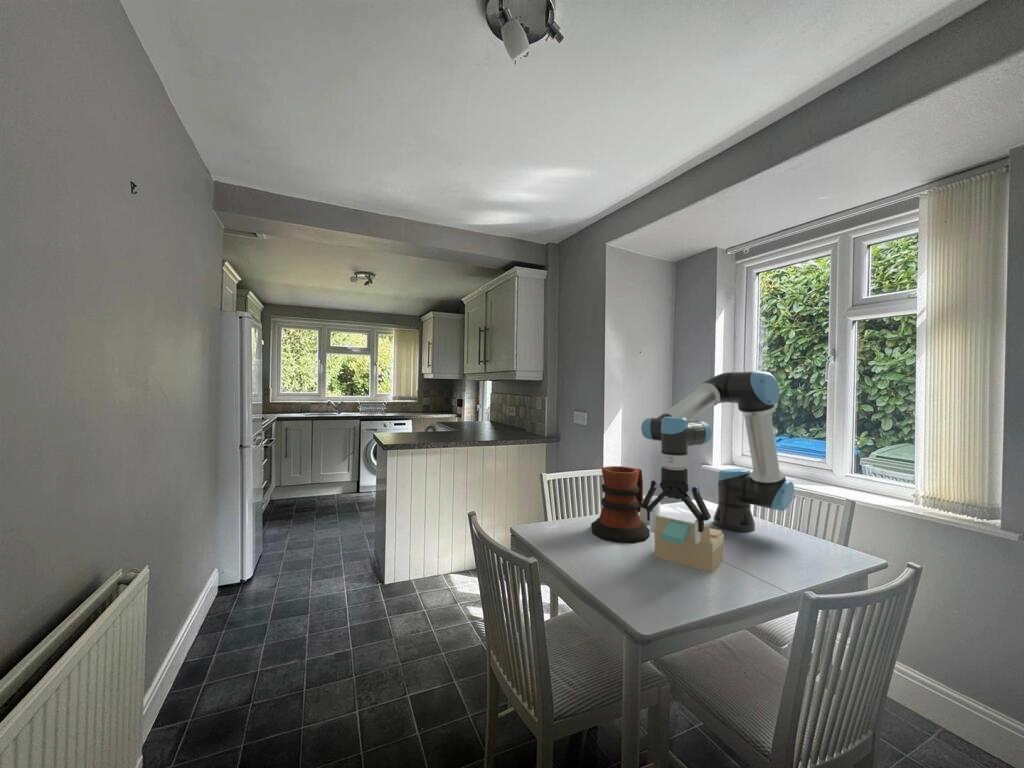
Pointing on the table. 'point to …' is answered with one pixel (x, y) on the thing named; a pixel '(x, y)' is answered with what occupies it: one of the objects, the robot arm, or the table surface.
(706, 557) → the carton
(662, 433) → the robot arm
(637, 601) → the table surface
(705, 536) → the flap
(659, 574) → the table surface
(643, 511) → the cup
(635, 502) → the tankard
